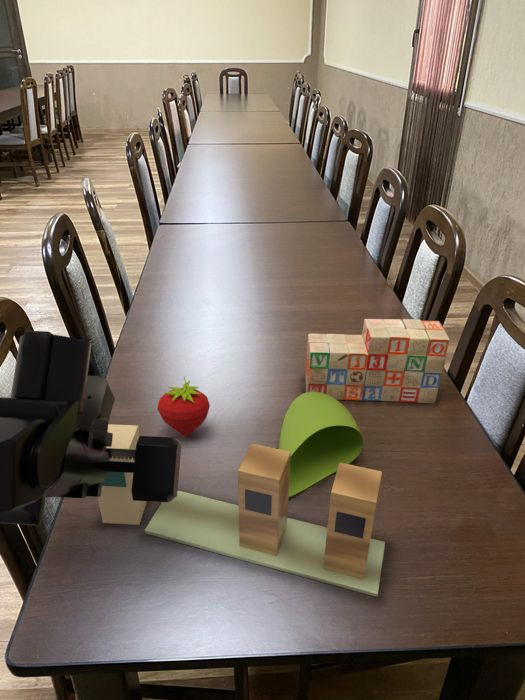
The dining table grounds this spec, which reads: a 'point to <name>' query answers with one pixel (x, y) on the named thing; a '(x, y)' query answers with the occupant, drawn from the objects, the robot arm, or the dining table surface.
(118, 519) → the tall cream block
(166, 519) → the block line
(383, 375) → the stack of blocks
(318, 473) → the green curved shell
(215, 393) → the dining table surface
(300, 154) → the dining table surface
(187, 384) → the strawberry
